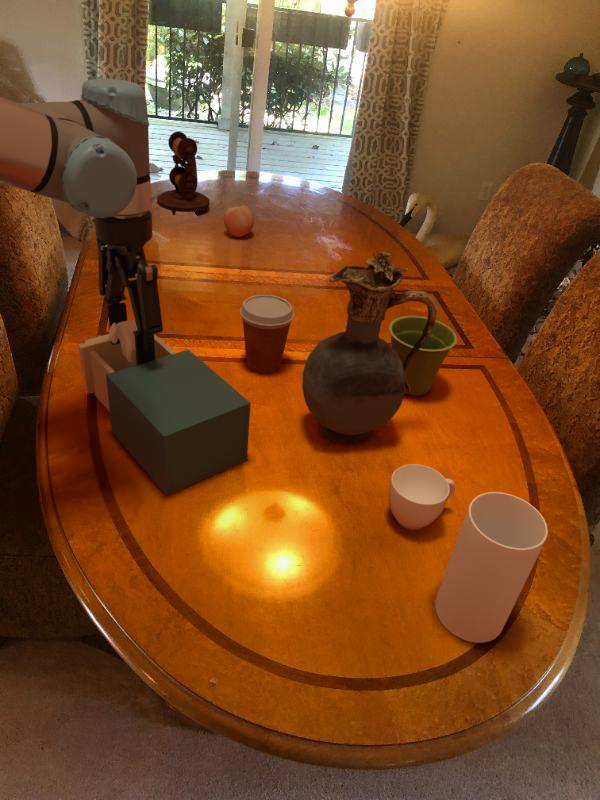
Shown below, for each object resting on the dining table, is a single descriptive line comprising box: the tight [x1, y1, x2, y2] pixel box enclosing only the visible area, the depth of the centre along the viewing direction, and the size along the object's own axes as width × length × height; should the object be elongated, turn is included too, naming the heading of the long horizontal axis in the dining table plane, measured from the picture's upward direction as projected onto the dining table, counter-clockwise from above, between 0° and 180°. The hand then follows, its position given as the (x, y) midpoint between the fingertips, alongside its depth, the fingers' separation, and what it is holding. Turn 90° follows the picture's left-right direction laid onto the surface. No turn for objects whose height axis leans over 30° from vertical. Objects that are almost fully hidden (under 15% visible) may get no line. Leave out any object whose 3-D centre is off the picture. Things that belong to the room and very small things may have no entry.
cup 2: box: [434, 491, 549, 644], centre depth 69 cm, size 8×8×16 cm
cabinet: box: [106, 349, 251, 497], centre depth 90 cm, size 17×14×11 cm
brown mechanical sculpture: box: [156, 131, 211, 216], centre depth 171 cm, size 15×15×20 cm
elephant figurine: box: [109, 318, 138, 363], centre depth 94 cm, size 7×8×6 cm
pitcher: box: [301, 251, 438, 444], centre depth 92 cm, size 11×19×30 cm, turn 104°
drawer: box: [78, 333, 176, 413], centre depth 98 cm, size 21×12×9 cm, turn 40°
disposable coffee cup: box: [239, 294, 295, 374], centre depth 111 cm, size 10×10×12 cm
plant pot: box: [388, 315, 458, 396], centre depth 110 cm, size 12×12×11 cm
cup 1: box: [388, 463, 456, 531], centre depth 84 cm, size 8×10×7 cm
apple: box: [223, 204, 255, 238], centre depth 162 cm, size 8×8×8 cm
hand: (132, 354), depth 96 cm, fingers closed on elephant figurine, 8 cm apart
